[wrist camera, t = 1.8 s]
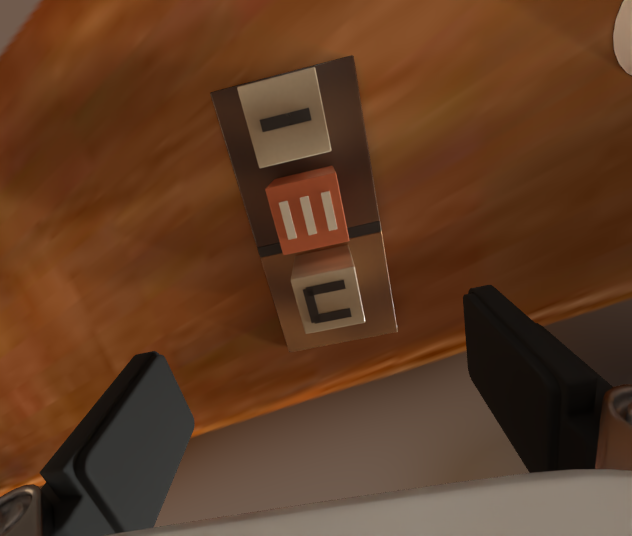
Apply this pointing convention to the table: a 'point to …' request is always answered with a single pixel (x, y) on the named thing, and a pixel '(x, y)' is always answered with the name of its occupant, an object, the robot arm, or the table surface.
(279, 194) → the three-striped orange cube
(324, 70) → the letter board
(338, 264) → the tile
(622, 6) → the candle
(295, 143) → the tile
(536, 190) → the table surface
